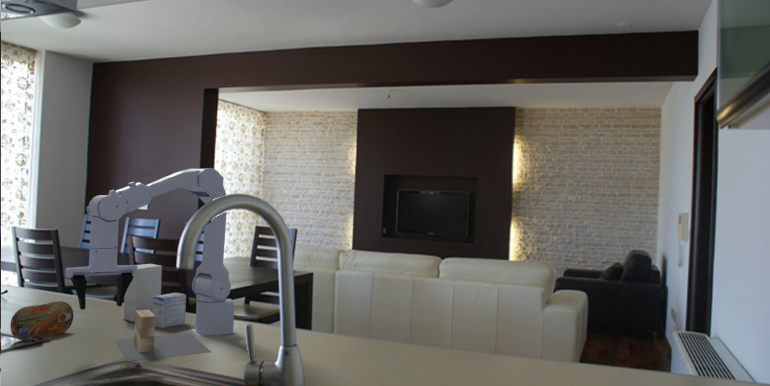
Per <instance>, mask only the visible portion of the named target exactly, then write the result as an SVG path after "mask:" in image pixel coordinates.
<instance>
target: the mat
mask: <svg viewBox="0 0 770 386" xmlns="http://www.w3.org/2000/svg"><path fill="white" fill-rule="evenodd" d="M114 341H115V342H116V343H115V344H116V345H117V347H118V349H119V350H120V353H121V355H122V356H123V358H124V359H125V361H126V362H134V361H144V360H152V359H153V360H154V359H162V358H171V357H181V356H189V355H197V354H205V353H211V352H212V351H211V350H210V349H209V348H207V346H206V345H204V344H203V343H202V342H201V341H200V340H199V339H198V338H197V337H195V336H194V334H193V333H191V332H184V333H183V332H182V333H174V334H173V333H172V334H170V333H169V334H161V335H154V351H148V352H139V351H138V349H137V348H136V346H135V345H134V337H128V338H127V337H126V338H120V339H119V338H117V339H114Z"/></svg>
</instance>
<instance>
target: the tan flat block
mask: <svg viewBox="0 0 770 386" xmlns="http://www.w3.org/2000/svg"><path fill="white" fill-rule="evenodd" d="M155 329H156V327H155V316H154V314H153V313H152V312H151V311H150V310H136V311H135V322H134V334H133V335H134V337H133V338H134V345H135V346H136V348H137V349H138V351H139V352H148V351H154V336H155Z"/></svg>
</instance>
